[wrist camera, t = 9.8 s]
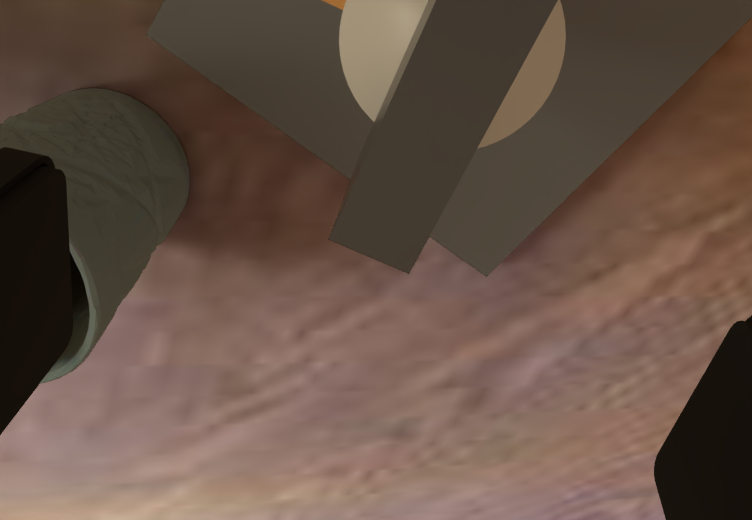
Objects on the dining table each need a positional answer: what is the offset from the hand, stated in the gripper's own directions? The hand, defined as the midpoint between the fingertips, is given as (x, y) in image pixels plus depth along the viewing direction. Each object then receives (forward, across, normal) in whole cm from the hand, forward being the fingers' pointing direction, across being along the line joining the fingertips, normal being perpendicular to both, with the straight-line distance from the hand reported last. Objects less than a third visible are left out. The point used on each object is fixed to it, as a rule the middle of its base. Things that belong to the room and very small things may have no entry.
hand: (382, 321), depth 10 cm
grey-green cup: (+25, +15, +12) cm, 32 cm away
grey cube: (+17, 0, 0) cm, 17 cm away
